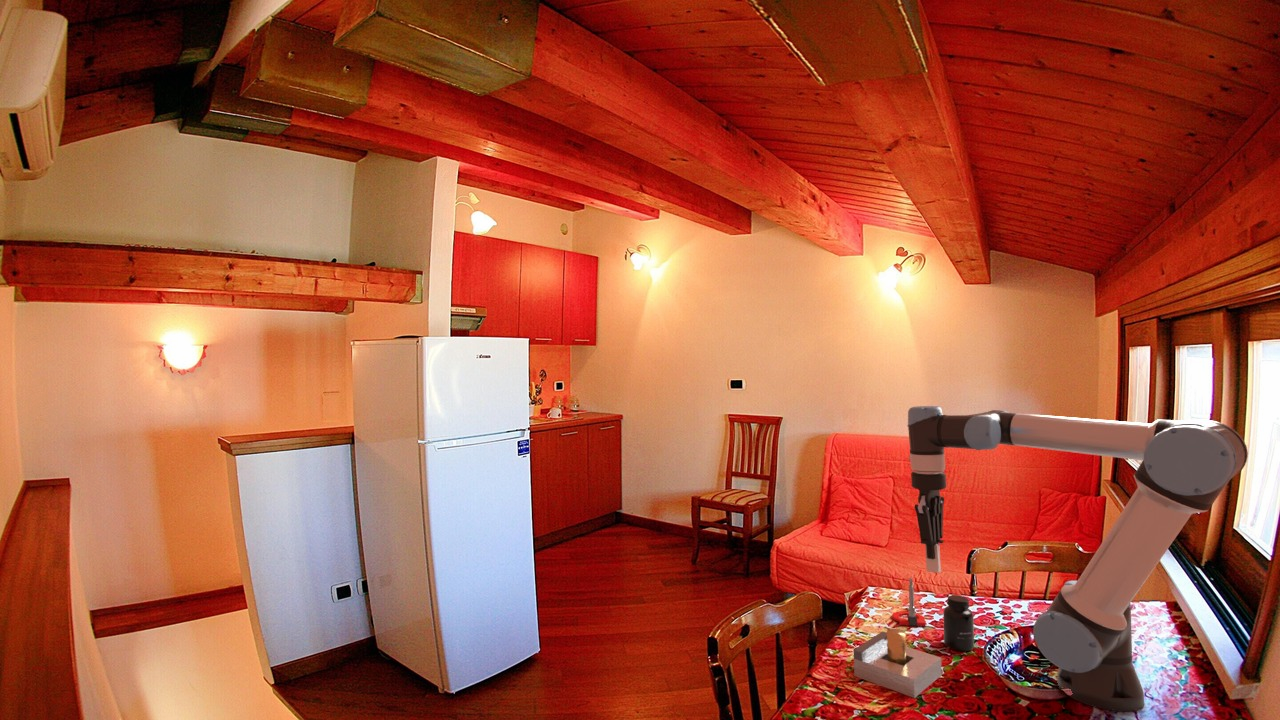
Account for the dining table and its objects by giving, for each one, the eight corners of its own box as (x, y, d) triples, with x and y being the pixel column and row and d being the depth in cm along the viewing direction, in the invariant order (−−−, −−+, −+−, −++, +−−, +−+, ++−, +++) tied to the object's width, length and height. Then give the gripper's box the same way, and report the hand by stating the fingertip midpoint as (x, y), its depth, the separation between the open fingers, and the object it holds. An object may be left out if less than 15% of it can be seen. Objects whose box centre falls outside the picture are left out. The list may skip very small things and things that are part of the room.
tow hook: (889, 614, 184) (897, 626, 174) (887, 569, 184) (895, 578, 175) (920, 615, 182) (929, 627, 173) (918, 569, 183) (927, 579, 174)
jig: (941, 675, 147) (940, 648, 147) (914, 698, 138) (913, 670, 138) (883, 655, 158) (882, 631, 158) (854, 675, 148) (853, 649, 148)
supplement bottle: (966, 654, 157) (965, 605, 157) (939, 645, 162) (937, 598, 162) (979, 646, 161) (977, 598, 161) (951, 637, 167) (950, 591, 167)
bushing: (909, 675, 148) (908, 631, 148) (902, 681, 145) (900, 637, 145) (893, 669, 151) (891, 627, 151) (885, 675, 148) (883, 632, 148)
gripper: (922, 466, 160) (927, 562, 159) (901, 474, 150) (907, 575, 150) (953, 468, 155) (959, 567, 154) (934, 476, 145) (940, 581, 145)
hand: (933, 571), depth 152 cm, fingers closed
